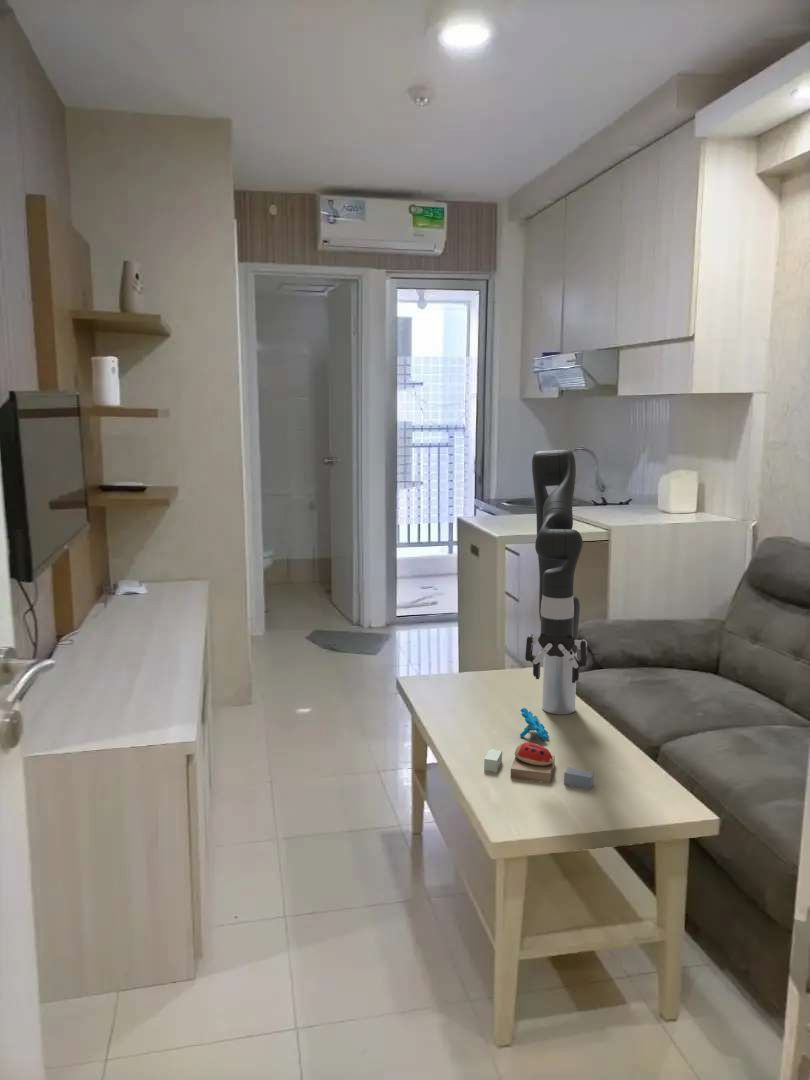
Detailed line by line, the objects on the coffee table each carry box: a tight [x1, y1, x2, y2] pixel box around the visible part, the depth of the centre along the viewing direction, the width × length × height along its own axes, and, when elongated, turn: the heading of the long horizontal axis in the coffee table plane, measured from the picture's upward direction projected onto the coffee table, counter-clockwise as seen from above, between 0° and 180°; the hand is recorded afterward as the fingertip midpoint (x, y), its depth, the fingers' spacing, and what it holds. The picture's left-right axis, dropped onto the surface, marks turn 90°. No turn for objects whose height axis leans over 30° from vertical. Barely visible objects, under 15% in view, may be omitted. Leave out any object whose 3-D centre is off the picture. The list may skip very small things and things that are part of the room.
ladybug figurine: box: [514, 741, 553, 766], centre depth 188 cm, size 7×10×4 cm
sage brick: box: [483, 748, 503, 773], centre depth 190 cm, size 6×3×3 cm, turn 161°
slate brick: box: [563, 767, 595, 790], centre depth 181 cm, size 6×3×3 cm, turn 64°
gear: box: [519, 707, 550, 741], centre depth 208 cm, size 11×6×10 cm
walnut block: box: [510, 755, 556, 784], centre depth 188 cm, size 10×9×3 cm
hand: (555, 680), depth 189 cm, fingers open, 8 cm apart
